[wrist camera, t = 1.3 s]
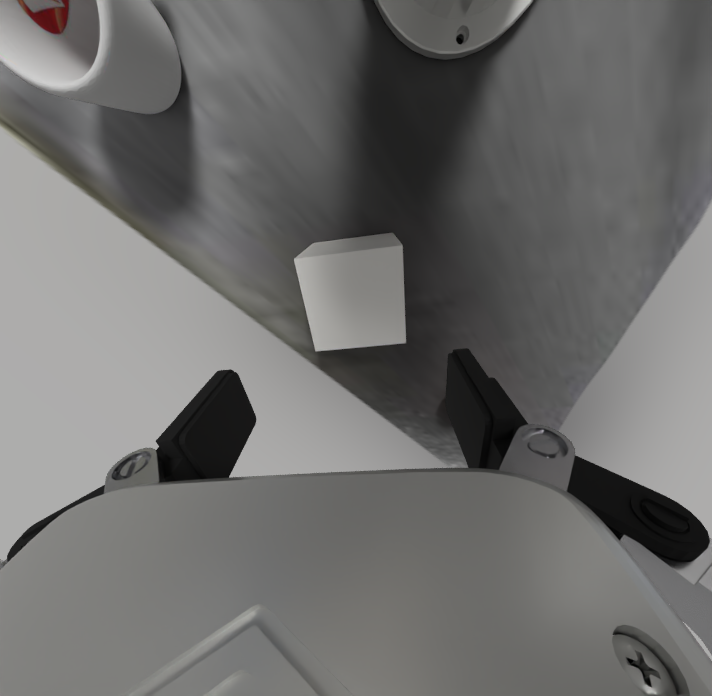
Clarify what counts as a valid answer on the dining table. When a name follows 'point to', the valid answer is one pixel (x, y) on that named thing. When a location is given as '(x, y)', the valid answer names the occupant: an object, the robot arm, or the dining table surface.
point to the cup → (93, 51)
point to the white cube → (354, 291)
